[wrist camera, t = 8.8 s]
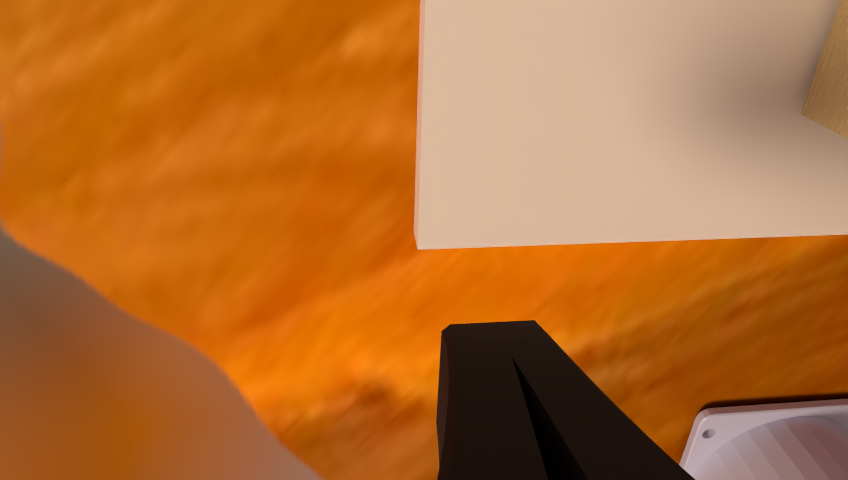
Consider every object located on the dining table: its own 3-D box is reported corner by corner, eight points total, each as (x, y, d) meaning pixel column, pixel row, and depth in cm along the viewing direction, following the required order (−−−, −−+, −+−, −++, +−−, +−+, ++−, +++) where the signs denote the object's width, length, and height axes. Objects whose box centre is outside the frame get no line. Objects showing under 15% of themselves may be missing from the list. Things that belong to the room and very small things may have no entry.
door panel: (901, 216, 21) (925, 231, 20) (413, 231, 19) (417, 249, 18) (1119, -244, 15) (1168, -250, 14) (428, -289, 13) (434, -300, 12)
